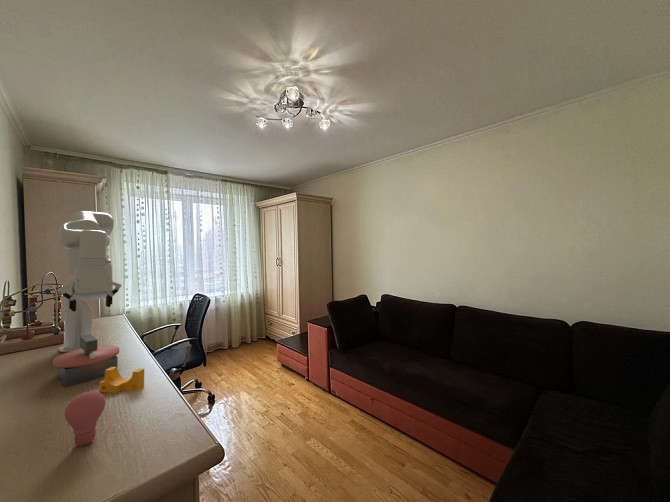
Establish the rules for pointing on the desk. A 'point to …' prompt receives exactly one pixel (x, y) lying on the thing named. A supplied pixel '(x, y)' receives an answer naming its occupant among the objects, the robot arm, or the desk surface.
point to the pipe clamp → (121, 381)
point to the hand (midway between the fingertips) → (91, 308)
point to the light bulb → (85, 415)
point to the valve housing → (85, 372)
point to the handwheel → (86, 354)
